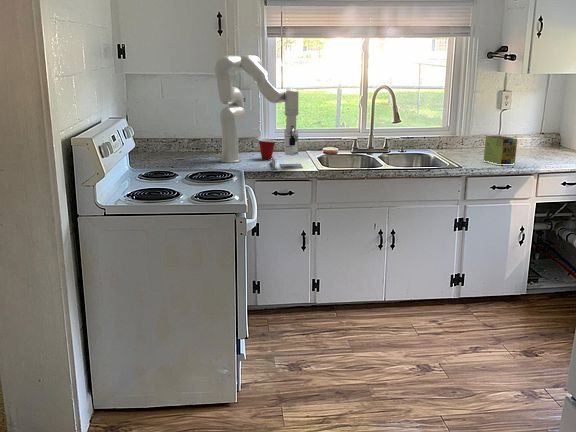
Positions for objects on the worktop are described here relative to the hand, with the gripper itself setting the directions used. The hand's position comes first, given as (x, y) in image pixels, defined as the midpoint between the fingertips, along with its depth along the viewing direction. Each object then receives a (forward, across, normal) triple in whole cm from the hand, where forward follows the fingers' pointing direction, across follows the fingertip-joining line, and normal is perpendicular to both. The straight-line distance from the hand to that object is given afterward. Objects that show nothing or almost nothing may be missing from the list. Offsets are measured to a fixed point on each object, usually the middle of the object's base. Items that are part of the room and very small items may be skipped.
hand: (291, 144), depth 334 cm
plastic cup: (+13, -25, -12) cm, 31 cm away
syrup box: (+6, 0, 0) cm, 6 cm away
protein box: (+14, -3, +123) cm, 124 cm away
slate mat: (+13, 0, 0) cm, 13 cm away
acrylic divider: (+13, 0, -10) cm, 16 cm away
